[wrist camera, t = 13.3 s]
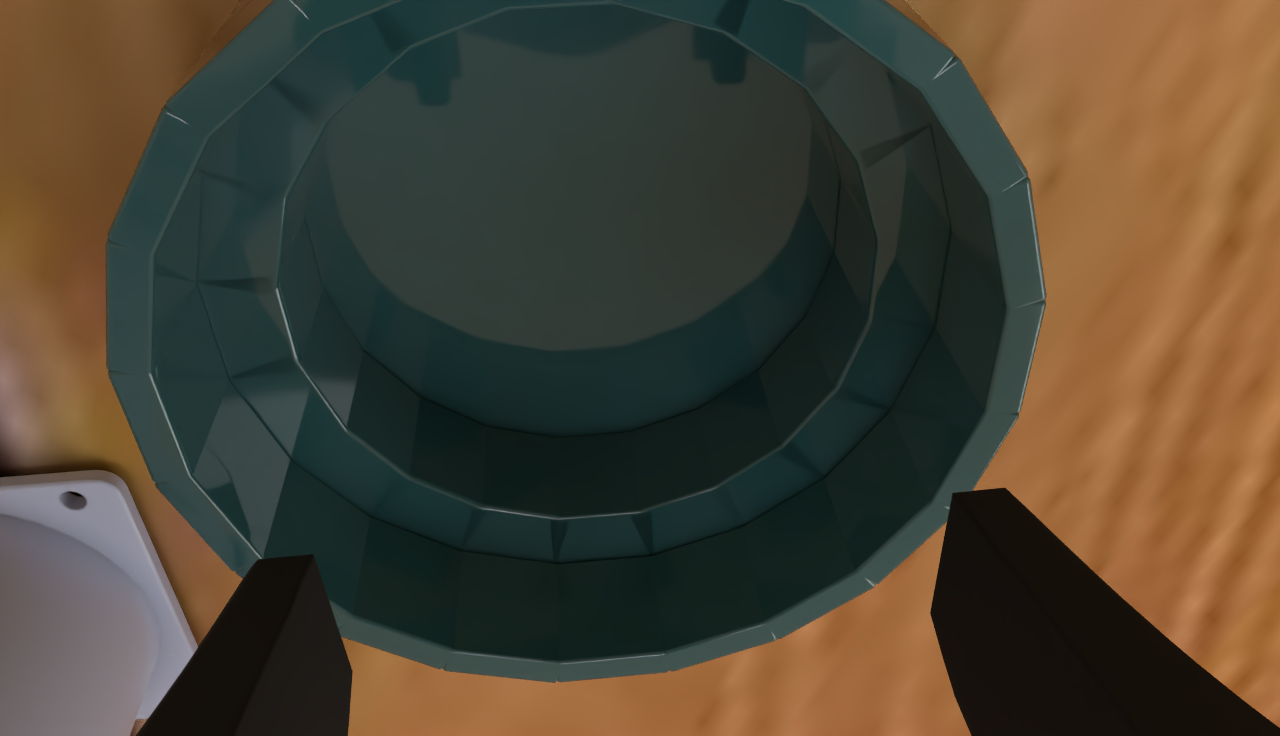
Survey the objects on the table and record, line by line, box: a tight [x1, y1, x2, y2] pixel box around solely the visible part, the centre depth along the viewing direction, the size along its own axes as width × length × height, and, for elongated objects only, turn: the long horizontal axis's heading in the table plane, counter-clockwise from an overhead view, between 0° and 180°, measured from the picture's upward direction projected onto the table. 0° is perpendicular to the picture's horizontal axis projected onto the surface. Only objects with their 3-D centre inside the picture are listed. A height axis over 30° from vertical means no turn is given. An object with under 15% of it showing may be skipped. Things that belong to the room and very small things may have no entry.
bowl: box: [106, 0, 1046, 683], centre depth 17 cm, size 13×13×6 cm
